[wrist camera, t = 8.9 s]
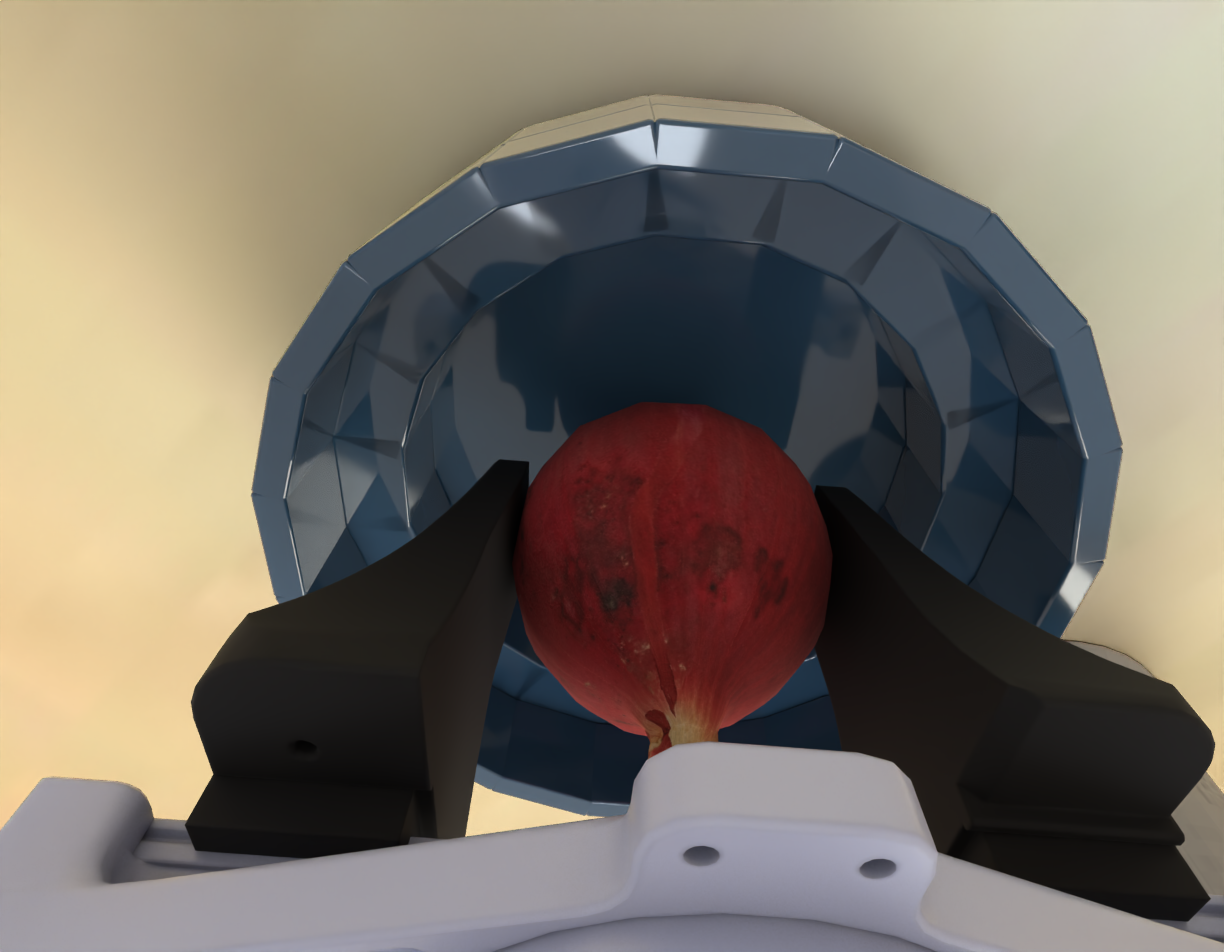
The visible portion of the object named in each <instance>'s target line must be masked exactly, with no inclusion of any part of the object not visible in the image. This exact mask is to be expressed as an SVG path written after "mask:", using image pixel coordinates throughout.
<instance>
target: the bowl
mask: <svg viewBox="0 0 1224 952" xmlns="http://www.w3.org/2000/svg"><path fill="white" fill-rule="evenodd" d="M640 402H657V403H679V404H700V405H707V406H710V407H712V408H714V409H717V410H719V411H721V412H724V413H726V414H728V415H731V416H733V417H736V418H738V419H740V420H743V421H745V422H747V423H750V424H752V425H754V426H757V427H759V428H761V429H762V430H763V431H764V432H765V433H766V434H767V435H768V436H769V437H770V438H771V439H772V440H773V441H774V442H775V443H776V444H777V445H778V446H779V447H780V448H781V449H782V450H783V451H784V452H785V453H786V454H787V455H788V456H789V457H790V458H791V459H792V460H793V462H794V463H795V464H796V465H797V467H798V468H799V469H800V471H801V472H802V474H803V475H804V477H805V478H806V479H807V481H808V482H809V484H810V485H811V488H812V490H813V493H814V491H815V488H816V485H822V486H834V487H846V488H847V489H849V490H850V491H851V492H853V493H854V494H855V495H856V496H858V497H859V498H860V499H861V500H862V501H863V502H865V503H866V504H867V505H868V506H869V507H870V508H872V509H873V510H874V511H875V512H876V513H877V514H878V515H879V516H881V517H882V518H883V519H884V520H885V521H886V522H887V523H889V524H890V525H891V526H892V527H893V528H894V529H895V530H897V531H898V532H899V533H900V534H901V535H902V536H904V537H905V538H906V539H907V540H908V541H910V542H911V543H912V544H913V545H914V546H916V547H917V548H918V549H919V550H921V551H922V552H923V553H924V554H926V555H927V556H928V557H929V558H931V559H932V560H933V561H935V562H936V563H937V564H939V565H940V566H941V567H943V568H944V569H945V570H946V571H948V572H949V573H950V574H952V575H953V576H955V577H956V578H957V579H959V580H960V581H962V582H963V583H965V584H966V585H968V586H969V587H971V588H972V589H974V590H975V591H977V592H979V593H980V594H982V595H983V596H985V597H986V598H988V599H989V600H991V601H992V602H994V603H996V604H997V605H999V606H1001V607H1002V608H1004V609H1006V610H1008V611H1009V612H1011V613H1013V614H1015V615H1016V616H1018V617H1020V618H1022V619H1024V620H1026V621H1028V622H1029V623H1031V624H1033V625H1035V626H1037V627H1039V628H1040V629H1042V630H1044V631H1046V632H1048V633H1050V634H1052V635H1054V636H1056V637H1058V638H1060V639H1061V638H1062V636H1063V634H1064V632H1065V631H1066V629H1067V627H1068V625H1069V624H1070V622H1071V620H1072V618H1073V617H1074V615H1075V613H1076V612H1077V610H1078V608H1079V606H1080V605H1081V603H1082V601H1083V599H1084V598H1085V596H1086V594H1087V592H1088V591H1089V589H1090V587H1091V585H1092V584H1093V582H1094V580H1095V579H1096V577H1097V575H1098V573H1099V572H1100V570H1101V568H1102V566H1103V564H1104V562H1103V561H1104V560H1105V559H1106V553H1107V547H1108V541H1109V534H1110V528H1111V522H1112V516H1113V509H1114V503H1115V497H1116V491H1117V485H1118V478H1119V472H1120V466H1121V460H1122V453H1123V450H1122V447H1121V446H1122V440H1121V436H1120V432H1119V429H1118V425H1117V421H1116V418H1115V414H1114V410H1113V407H1112V403H1111V399H1110V396H1109V392H1108V388H1107V385H1106V381H1105V377H1104V374H1103V370H1102V366H1101V363H1100V359H1099V355H1098V352H1097V348H1096V344H1095V340H1094V337H1093V333H1092V329H1091V326H1090V325H1089V324H1088V322H1087V318H1086V317H1085V316H1084V315H1083V314H1082V313H1081V311H1080V310H1079V309H1078V308H1077V307H1076V306H1075V304H1074V303H1073V302H1072V301H1071V300H1070V299H1069V297H1068V296H1067V295H1066V294H1065V293H1064V291H1063V290H1062V289H1061V288H1060V287H1059V286H1058V284H1057V283H1056V282H1055V281H1054V280H1053V279H1052V277H1051V276H1050V275H1049V274H1048V273H1047V272H1046V270H1045V269H1044V268H1043V267H1042V266H1041V264H1040V263H1039V262H1038V261H1037V260H1036V259H1035V257H1034V256H1033V255H1032V254H1031V253H1030V252H1029V250H1028V249H1027V248H1026V247H1025V246H1024V245H1023V243H1022V242H1021V241H1020V240H1019V239H1018V237H1017V236H1016V235H1015V234H1014V233H1013V232H1012V230H1011V229H1010V228H1009V227H1008V226H1007V225H1006V223H1005V222H1004V221H1003V220H1002V219H1001V218H1000V216H999V215H998V214H997V213H995V212H993V211H991V209H990V208H989V207H987V206H985V205H983V204H981V203H979V202H977V201H975V200H973V199H971V198H969V197H967V196H965V195H963V194H961V193H959V192H957V191H955V190H953V189H951V188H949V187H947V186H945V185H943V184H941V183H939V182H937V181H935V180H933V179H931V178H929V177H926V176H924V175H922V174H920V173H918V172H916V171H914V170H912V169H910V168H908V167H906V166H904V165H902V164H900V163H898V162H896V161H894V160H892V159H890V158H888V157H886V156H884V155H882V154H880V153H878V152H876V151H874V150H872V149H870V148H868V147H866V146H863V145H861V144H859V143H857V142H855V141H853V140H851V139H849V138H847V137H845V136H843V135H841V134H839V133H837V132H835V131H832V130H830V129H828V128H826V127H824V126H822V125H820V124H818V123H815V122H813V121H811V120H809V119H807V118H805V117H803V116H801V115H799V114H796V113H794V112H792V111H790V110H788V109H786V108H780V107H778V106H776V105H768V104H757V103H746V102H735V101H724V100H713V99H702V98H691V97H680V96H669V95H658V94H652V95H650V96H649V97H648V96H646V95H642V96H639V97H635V98H631V99H627V100H624V101H620V102H616V103H613V104H609V105H605V106H601V107H598V108H594V109H590V110H587V111H583V112H579V113H575V114H572V115H568V116H564V117H561V118H557V119H553V120H549V121H546V122H542V123H538V124H535V125H531V126H528V127H526V128H525V129H520V130H519V131H518V132H516V133H515V134H513V135H512V136H511V137H509V138H508V139H506V140H505V141H503V142H502V143H501V144H499V145H498V146H496V147H495V148H494V149H492V150H491V151H489V152H488V153H487V154H485V155H484V156H482V157H481V158H480V159H478V160H477V161H475V162H474V163H472V164H471V165H470V166H468V167H467V168H465V169H464V170H463V171H461V172H460V173H458V174H457V175H456V176H454V177H453V178H451V179H450V180H449V181H447V182H446V183H444V184H443V185H441V186H440V187H439V188H437V189H436V190H434V191H433V192H432V193H430V194H429V195H427V196H426V197H425V198H423V199H422V200H421V201H419V202H418V203H417V204H415V205H414V206H413V207H412V208H410V209H409V210H408V211H406V212H405V213H404V214H402V215H401V216H400V217H398V218H397V219H396V220H394V221H393V222H392V223H391V224H389V225H388V226H387V227H385V228H384V229H383V230H381V231H380V232H379V233H377V234H376V235H375V236H373V237H372V238H371V239H369V240H368V241H367V242H366V243H364V244H363V245H362V246H360V247H359V248H358V249H356V250H355V251H354V252H352V253H351V254H350V255H349V256H348V258H347V259H346V260H344V261H343V262H342V263H341V265H340V266H339V268H338V270H337V271H336V273H335V274H334V276H333V277H332V279H331V281H330V282H329V284H328V285H327V287H326V288H325V290H324V291H323V293H322V295H321V296H320V298H319V299H318V301H317V302H316V304H315V305H314V307H313V309H312V310H311V312H310V313H309V315H308V316H307V318H306V320H305V321H304V323H303V324H302V326H301V327H300V329H299V330H298V332H297V334H296V335H295V337H294V338H293V340H292V341H291V343H290V345H289V346H288V348H287V349H286V351H285V352H284V354H283V355H282V357H281V359H280V360H279V362H278V363H277V365H276V366H275V368H274V369H273V372H272V376H271V378H270V380H269V386H268V392H267V398H266V404H265V410H264V416H263V422H262V429H261V435H260V441H259V447H258V453H257V459H256V465H255V471H254V477H253V483H252V494H251V497H252V502H253V506H254V510H255V514H256V519H257V523H258V527H259V532H260V536H261V540H262V545H263V549H264V553H265V557H266V562H267V566H268V570H269V575H270V579H271V583H272V587H273V592H274V595H275V596H276V600H277V602H278V603H279V604H280V603H283V602H286V601H289V600H292V599H295V598H298V597H301V596H304V595H306V594H309V593H311V592H314V591H316V590H319V589H321V588H324V587H326V586H328V585H331V584H333V583H335V582H337V581H340V580H342V579H344V578H346V577H348V576H350V575H352V574H354V573H356V572H358V571H360V570H362V569H364V568H365V567H367V566H369V565H371V564H373V563H375V562H376V561H378V560H380V559H382V558H384V557H386V556H387V555H389V554H391V553H392V552H394V551H395V550H397V549H398V548H400V547H401V546H403V545H404V544H406V543H408V542H409V541H410V540H412V539H413V538H415V537H416V536H417V535H419V534H420V533H421V532H422V531H424V530H425V529H426V528H427V527H429V526H430V525H431V524H432V523H433V522H435V521H436V520H437V519H438V518H439V517H441V516H442V515H443V514H444V513H445V512H446V511H448V510H449V509H450V508H451V507H452V506H453V505H454V504H455V503H456V502H457V501H458V500H459V499H460V498H461V497H462V496H463V495H464V494H466V493H467V492H468V491H469V490H470V489H471V488H472V487H473V485H474V484H475V483H476V482H477V481H478V480H479V479H480V478H481V477H482V476H483V475H484V474H485V473H486V472H487V471H488V470H489V468H490V467H491V466H492V465H493V464H494V463H495V462H497V461H498V460H499V459H503V460H516V461H528V462H529V486H530V485H531V483H532V482H533V480H534V479H535V477H536V476H537V474H538V472H539V471H540V469H541V468H542V466H543V465H544V464H545V463H546V462H547V461H548V460H549V459H550V458H551V457H552V455H553V454H554V453H555V452H556V451H557V450H558V449H559V448H560V447H561V446H562V445H563V444H564V442H565V441H566V440H567V439H568V438H569V437H570V436H571V435H572V434H573V433H574V432H575V431H576V429H577V428H578V427H579V426H581V425H583V424H586V423H589V422H591V421H594V420H596V419H599V418H601V417H604V416H606V415H609V414H612V413H614V412H617V411H619V410H622V409H624V408H627V407H630V406H632V405H635V404H637V403H640ZM718 742H725V743H738V744H751V745H765V746H778V747H791V748H804V749H818V750H831V751H842V749H841V743H840V738H839V733H838V728H837V723H836V718H835V714H834V710H833V706H832V703H831V699H830V695H829V692H828V689H827V686H826V683H825V680H824V676H823V673H822V670H821V667H820V664H819V661H818V658H817V655H816V652H815V648H813V649H812V651H811V652H810V653H809V655H808V656H807V657H806V659H805V660H804V662H803V663H802V664H801V665H800V667H799V668H798V669H797V670H796V672H795V673H794V674H793V675H792V676H791V678H790V679H789V680H788V681H787V683H786V684H785V685H784V686H783V687H782V688H781V690H780V691H779V692H778V693H777V694H776V695H775V696H774V697H773V698H771V699H770V700H769V701H768V702H766V703H765V704H764V705H763V706H761V707H759V708H758V709H756V710H755V711H753V712H752V713H750V714H748V715H747V716H745V717H744V718H742V719H741V720H739V721H737V722H736V723H734V724H733V725H731V726H728V727H724V728H721V729H719V731H718ZM649 746H650V741H649V739H648V736H644V735H638V734H633V733H630V732H626V731H623V730H622V729H620V728H618V727H616V726H615V725H613V724H611V723H609V722H608V721H606V720H604V719H602V718H601V717H599V716H597V715H595V714H594V713H592V712H590V711H589V710H588V709H586V708H585V707H583V706H582V705H580V704H579V703H578V702H576V701H575V700H574V698H573V697H572V696H571V695H570V694H569V693H568V692H567V691H566V689H565V688H564V687H563V686H562V685H561V684H560V682H559V681H558V680H557V679H556V678H555V677H554V676H553V674H552V673H551V672H550V671H549V670H548V668H547V667H546V666H545V665H544V663H543V662H542V661H541V660H540V659H539V657H538V656H537V655H536V653H535V651H534V649H533V647H532V645H531V643H530V641H529V639H528V636H527V634H526V631H525V627H524V622H523V618H522V614H521V609H520V605H519V601H518V596H517V599H516V603H515V606H514V610H513V613H512V616H511V620H510V623H509V626H508V630H507V633H506V636H505V640H504V643H503V646H502V650H501V653H500V656H499V660H498V663H497V666H496V670H495V674H494V678H493V682H492V686H491V690H490V695H489V701H488V706H487V711H486V717H485V722H484V728H483V733H482V739H481V745H480V750H479V756H478V762H477V767H476V773H475V779H474V782H476V783H478V784H480V785H482V786H484V787H485V788H487V789H492V791H494V792H498V793H502V794H506V795H509V796H513V797H517V798H520V799H524V800H528V801H532V802H535V803H539V804H543V805H546V806H550V807H554V808H557V809H561V810H565V811H569V812H572V813H576V814H580V815H583V816H585V815H586V814H587V815H588V816H596V817H612V816H619V815H625V814H626V813H627V811H628V809H629V806H630V804H631V797H632V791H633V784H634V780H635V778H636V777H637V775H638V773H639V772H640V770H641V768H642V767H643V765H644V763H645V762H646V760H648V752H649Z"/></svg>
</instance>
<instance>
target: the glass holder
mask: <svg viewBox="0 0 1224 952" xmlns="http://www.w3.org/2000/svg"><path fill="white" fill-rule="evenodd" d="M1067 642H1069V643H1071V644H1073V645H1075V646H1078V647H1080V648H1082V649H1084V650H1086V651H1089V652H1091V653H1093V654H1095V655H1098V656H1100V657H1102V658H1104V659H1107V660H1109V661H1112V662H1114V663H1117V664H1119V665H1122V666H1125V667H1127V668H1130V669H1132V670H1135V671H1138V672H1140V673H1143V674H1146V675H1148V676H1151V677H1153V676H1152V675H1151V674H1150V673H1149V672H1148V671H1147V670H1146V669H1145V668H1144V667H1143V666H1142V665H1141V664H1140V663H1138V662H1136V661H1135V660H1133V659H1131V658H1130V657H1128V656H1127V655H1125V654H1122V653H1120V652H1117V651H1114V650H1111V649H1109V648H1106V647H1103V646H1098V645H1093V644H1087V643H1082V642H1072V641H1067ZM1153 678H1154V677H1153ZM1171 815H1172V817H1173V818H1174V820H1175V821H1176V823H1177V824H1178V826H1179V827H1180V829H1181V830H1182V831H1183V833H1184V836H1185V841H1184V843H1183V844H1182V845H1181V846H1176V847H1177V849H1178V850H1179V852H1180V853H1181V855H1182V856H1183V858H1184V859H1185V861H1186V862H1187V864H1188V865H1189V867H1190V868H1191V870H1192V871H1193V873H1194V874H1195V876H1196V877H1197V879H1198V880H1199V882H1200V883H1201V885H1202V886H1203V888H1204V889H1205V891H1206V892H1207V894H1212V895H1224V794H1223V793H1222V791H1221V790H1220V789H1219V788H1218V786H1217V785H1216V784H1215V782H1214V781H1213V780H1212V779H1211V777H1210V776H1209V775H1208V773H1207V772H1205V774H1204V775H1203V777H1202V778H1201V780H1200V781H1199V782H1198V783H1197V784H1196V785H1195V787H1194V788H1193V789H1192V790H1191V791H1190V793H1189V794H1188V795H1187V796H1186V797H1185V799H1184V800H1183V801H1182V802H1181V803H1180V804H1179V806H1178V807H1177V808H1176V809H1175V810H1174V812H1173V813H1172V814H1171Z"/></svg>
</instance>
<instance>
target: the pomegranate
mask: <svg viewBox="0 0 1224 952" xmlns="http://www.w3.org/2000/svg"><path fill="white" fill-rule="evenodd" d="M832 558H833V554H832V549H831V544H830V540H829V535H828V530H827V526H826V524H825V521H824V519H823V516H822V514H821V511H820V508H819V506H818V503H817V501H816V498H815V496H814V493H813V490H812V488H811V485H810V484H809V482H808V481H807V479H806V478H805V477H804V475H803V474H802V472H801V471H800V469H799V468H798V467H797V465H796V464H795V463H794V462H793V460H792V459H791V458H790V457H789V456H788V455H787V454H786V453H785V452H784V451H783V450H782V449H781V448H780V447H779V446H778V445H777V444H776V443H775V442H774V441H773V440H772V439H771V438H770V437H769V436H768V435H767V434H766V433H765V432H764V431H763V430H762V429H761V428H759V427H757V426H754V425H752V424H750V423H747V422H745V421H743V420H740V419H738V418H736V417H733V416H731V415H728V414H726V413H724V412H721V411H719V410H717V409H714V408H712V407H710V406H707V405H700V404H679V403H657V402H640V403H637V404H635V405H632V406H630V407H627V408H624V409H622V410H619V411H617V412H614V413H612V414H609V415H606V416H604V417H601V418H599V419H596V420H594V421H591V422H589V423H586V424H583V425H581V426H579V427H578V428H577V429H576V431H575V432H574V433H573V434H572V435H571V436H570V437H569V438H568V439H567V440H566V441H565V442H564V444H563V445H562V446H561V447H560V448H559V449H558V450H557V451H556V452H555V453H554V454H553V455H552V457H551V458H550V459H549V460H548V461H547V462H546V463H545V464H544V465H543V466H542V468H541V469H540V471H539V472H538V474H537V476H536V477H535V479H534V480H533V482H532V483H531V485H530V486H529V488H528V491H527V495H526V499H525V504H524V508H523V512H522V516H521V520H520V525H519V530H518V535H517V540H516V545H515V550H514V555H513V561H512V567H513V574H514V580H515V587H516V592H517V596H518V601H519V605H520V609H521V614H522V618H523V622H524V627H525V631H526V634H527V636H528V639H529V641H530V643H531V645H532V647H533V649H534V651H535V653H536V655H537V656H538V657H539V659H540V660H541V661H542V662H543V663H544V665H545V666H546V667H547V668H548V670H549V671H550V672H551V673H552V674H553V676H554V677H555V678H556V679H557V680H558V681H559V682H560V684H561V685H562V686H563V687H564V688H565V689H566V691H567V692H568V693H569V694H570V695H571V696H572V697H573V698H574V700H575V701H576V702H578V703H579V704H580V705H582V706H583V707H585V708H586V709H588V710H589V711H590V712H592V713H594V714H595V715H597V716H599V717H601V718H602V719H604V720H606V721H608V722H609V723H611V724H613V725H615V726H616V727H618V728H620V729H622V730H623V731H626V732H630V733H633V734H638V735H644V736H648V739H649V741H650V746H649V752H648V759H649V758H651V757H653V756H655V755H657V754H659V753H661V752H663V751H665V750H667V749H668V748H670V747H672V746H674V745H676V744H685V743H696V742H707V741H711V742H718V731H719V729H721V728H724V727H728V726H731V725H733V724H734V723H736V722H737V721H739V720H741V719H742V718H744V717H745V716H747V715H748V714H750V713H752V712H753V711H755V710H756V709H758V708H759V707H761V706H763V705H764V704H765V703H766V702H768V701H769V700H770V699H771V698H773V697H774V696H775V695H776V694H777V693H778V692H779V691H780V690H781V688H782V687H783V686H784V685H785V684H786V683H787V681H788V680H789V679H790V678H791V676H792V675H793V674H794V673H795V672H796V670H797V669H798V668H799V667H800V665H801V664H802V663H803V662H804V660H805V659H806V657H807V656H808V655H809V653H810V652H811V651H812V649H813V648H814V646H815V645H816V643H817V640H818V638H819V636H820V633H821V631H822V629H823V626H824V623H825V616H826V610H827V603H828V596H829V590H830V583H831V571H832Z"/></svg>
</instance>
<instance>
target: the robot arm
mask: <svg viewBox="0 0 1224 952" xmlns="http://www.w3.org/2000/svg"><path fill="white" fill-rule="evenodd" d="M528 488H529V462H528V461H516V460H503V459H499V460H498V461H497V462H495V463H494V464H493V465H492V466H491V467H490V468H489V470H488V471H487V472H486V473H485V474H484V475H483V476H482V477H481V478H480V479H479V480H478V481H477V482H476V483H475V484H474V485H473V487H472V488H471V489H470V490H469V491H468V492H467V493H466V494H464V495H463V496H462V497H461V498H460V499H459V500H458V501H457V502H456V503H455V504H454V505H453V506H452V507H451V508H450V509H449V510H448V511H446V512H445V513H444V514H443V515H442V516H441V517H439V518H438V519H437V520H436V521H435V522H433V523H432V524H431V525H430V526H429V527H427V528H426V529H425V530H424V531H422V532H421V533H420V534H419V535H417V536H416V537H415V538H413V539H412V540H410V541H409V542H408V543H406V544H404V545H403V546H401V547H400V548H398V549H397V550H395V551H394V552H392V553H391V554H389V555H387V556H386V557H384V558H382V559H380V560H378V561H376V562H375V563H373V564H371V565H369V566H367V567H365V568H364V569H362V570H360V571H358V572H356V573H354V574H352V575H350V576H348V577H346V578H344V579H342V580H340V581H337V582H335V583H333V584H331V585H328V586H326V587H324V588H321V589H319V590H316V591H314V592H311V593H309V594H306V595H304V596H301V597H298V598H295V599H292V600H289V601H286V602H283V603H280V604H277V605H274V606H271V607H268V608H265V609H262V610H259V611H256V612H252V613H249V614H248V615H247V616H246V617H245V618H244V620H243V621H242V622H241V623H240V624H239V626H238V627H237V628H236V629H235V630H234V632H233V633H232V634H231V635H230V637H229V638H228V639H227V641H226V642H225V644H224V645H223V646H222V648H221V649H220V651H219V652H218V654H217V655H216V657H215V658H214V660H213V661H212V663H211V664H210V665H209V667H208V668H207V670H206V671H205V673H204V674H203V676H202V677H201V679H200V680H199V682H198V683H197V685H196V686H195V689H194V693H193V696H192V700H191V705H192V712H193V718H194V721H195V724H196V727H197V729H198V732H199V735H200V738H201V741H202V743H203V746H204V749H205V752H206V755H207V757H208V760H209V763H210V766H211V769H212V771H213V776H212V778H211V780H210V781H209V783H208V785H207V787H206V788H205V790H204V792H203V794H202V795H201V797H200V799H199V801H198V802H197V804H196V806H195V808H194V809H193V811H192V813H191V815H190V816H189V818H188V820H173V819H159V818H154V817H153V813H152V808H151V806H150V804H149V801H148V799H147V797H146V796H145V795H144V793H143V792H142V791H141V790H140V789H138V788H136V787H134V786H132V785H130V784H127V783H123V782H118V781H107V780H93V779H79V778H65V777H46V778H43V779H41V780H40V781H39V783H38V784H37V785H36V786H35V788H34V789H33V790H32V791H31V793H30V794H29V795H28V796H27V798H26V799H25V800H24V801H23V803H22V804H21V805H20V806H19V808H18V809H17V810H16V811H15V813H14V814H13V815H12V816H11V818H10V819H9V820H8V821H7V823H6V824H5V825H4V826H3V828H2V829H1V830H0V952H1224V895H1212V894H1207V892H1206V891H1205V889H1204V888H1203V886H1202V885H1201V883H1200V882H1199V880H1198V879H1197V877H1196V876H1195V874H1194V873H1193V871H1192V870H1191V868H1190V867H1189V865H1188V864H1187V862H1186V861H1185V859H1184V858H1183V856H1182V855H1181V853H1180V852H1179V850H1178V849H1177V847H1176V846H1181V845H1182V844H1183V843H1184V841H1185V836H1184V833H1183V831H1182V830H1181V829H1180V827H1179V826H1178V824H1177V823H1176V821H1175V820H1174V818H1173V817H1172V815H1171V814H1172V813H1173V812H1174V810H1175V809H1176V808H1177V807H1178V806H1179V804H1180V803H1181V802H1182V801H1183V800H1184V799H1185V797H1186V796H1187V795H1188V794H1189V793H1190V791H1191V790H1192V789H1193V788H1194V787H1195V785H1196V784H1197V783H1198V782H1199V781H1200V780H1201V778H1202V777H1203V775H1204V774H1205V772H1206V770H1207V769H1208V767H1209V766H1210V764H1211V762H1212V759H1213V754H1214V748H1215V742H1214V739H1213V736H1212V733H1211V730H1210V729H1209V728H1208V727H1207V726H1206V724H1205V723H1204V722H1203V721H1202V719H1201V718H1200V717H1199V716H1198V715H1197V713H1196V712H1195V711H1194V710H1193V708H1192V707H1191V706H1190V705H1189V704H1188V702H1187V701H1186V700H1185V699H1184V698H1183V696H1182V695H1181V694H1180V693H1179V691H1178V690H1177V689H1176V688H1175V687H1174V686H1173V685H1172V684H1169V683H1166V682H1164V681H1161V680H1159V679H1156V678H1153V677H1151V676H1148V675H1146V674H1143V673H1140V672H1138V671H1135V670H1132V669H1130V668H1127V667H1125V666H1122V665H1119V664H1117V663H1114V662H1112V661H1109V660H1107V659H1104V658H1102V657H1100V656H1098V655H1095V654H1093V653H1091V652H1089V651H1086V650H1084V649H1082V648H1080V647H1078V646H1075V645H1073V644H1071V643H1069V642H1067V641H1065V640H1062V639H1060V638H1058V637H1056V636H1054V635H1052V634H1050V633H1048V632H1046V631H1044V630H1042V629H1040V628H1039V627H1037V626H1035V625H1033V624H1031V623H1029V622H1028V621H1026V620H1024V619H1022V618H1020V617H1018V616H1016V615H1015V614H1013V613H1011V612H1009V611H1008V610H1006V609H1004V608H1002V607H1001V606H999V605H997V604H996V603H994V602H992V601H991V600H989V599H988V598H986V597H985V596H983V595H982V594H980V593H979V592H977V591H975V590H974V589H972V588H971V587H969V586H968V585H966V584H965V583H963V582H962V581H960V580H959V579H957V578H956V577H955V576H953V575H952V574H950V573H949V572H948V571H946V570H945V569H944V568H943V567H941V566H940V565H939V564H937V563H936V562H935V561H933V560H932V559H931V558H929V557H928V556H927V555H926V554H924V553H923V552H922V551H921V550H919V549H918V548H917V547H916V546H914V545H913V544H912V543H911V542H910V541H908V540H907V539H906V538H905V537H904V536H902V535H901V534H900V533H899V532H898V531H897V530H895V529H894V528H893V527H892V526H891V525H890V524H889V523H887V522H886V521H885V520H884V519H883V518H882V517H881V516H879V515H878V514H877V513H876V512H875V511H874V510H873V509H872V508H870V507H869V506H868V505H867V504H866V503H865V502H863V501H862V500H861V499H860V498H859V497H858V496H856V495H855V494H854V493H853V492H851V491H850V490H849V489H847V488H846V487H834V486H822V485H816V488H815V491H814V496H815V498H816V501H817V503H818V506H819V508H820V511H821V514H822V516H823V519H824V521H825V524H826V526H827V530H828V535H829V540H830V544H831V549H832V554H833V558H832V571H831V583H830V590H829V596H828V603H827V610H826V616H825V623H824V626H823V629H822V631H821V633H820V636H819V638H818V640H817V643H816V645H815V646H814V648H815V652H816V655H817V658H818V661H819V664H820V667H821V670H822V673H823V676H824V680H825V683H826V686H827V689H828V692H829V695H830V699H831V703H832V706H833V710H834V714H835V718H836V723H837V728H838V733H839V738H840V743H841V749H842V751H831V750H818V749H804V748H791V747H778V746H765V745H751V744H738V743H725V742H711V741H707V742H696V743H685V744H676V745H674V746H672V747H670V748H668V749H667V750H665V751H663V752H661V753H659V754H657V755H655V756H653V757H651V758H649V759H648V760H646V762H645V763H644V765H643V767H642V768H641V770H640V772H639V773H638V775H637V777H636V778H635V780H634V784H633V791H632V797H631V804H630V806H629V809H628V811H627V813H626V814H625V815H619V816H612V817H605V818H597V819H590V820H583V821H576V822H569V823H561V824H554V825H547V826H540V827H532V828H525V829H518V830H511V831H504V832H496V833H489V834H482V835H475V836H467V837H465V834H466V827H467V821H468V815H469V809H470V803H471V797H472V791H473V785H474V779H475V773H476V767H477V762H478V756H479V750H480V745H481V739H482V733H483V728H484V722H485V717H486V711H487V706H488V701H489V695H490V690H491V686H492V682H493V678H494V674H495V670H496V666H497V663H498V660H499V656H500V653H501V650H502V646H503V643H504V640H505V636H506V633H507V630H508V626H509V623H510V620H511V616H512V613H513V610H514V606H515V603H516V599H517V592H516V587H515V580H514V574H513V567H512V561H513V555H514V550H515V545H516V540H517V535H518V530H519V525H520V520H521V516H522V512H523V508H524V504H525V499H526V495H527V491H528Z"/></svg>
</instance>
